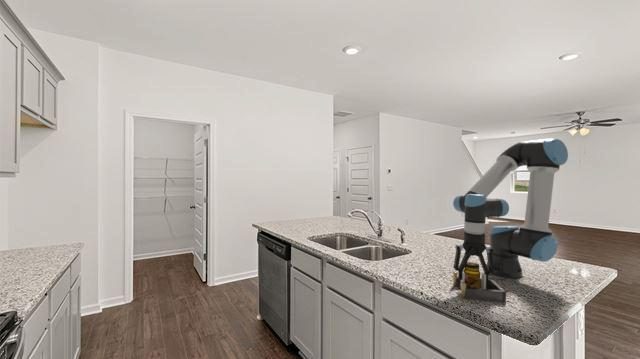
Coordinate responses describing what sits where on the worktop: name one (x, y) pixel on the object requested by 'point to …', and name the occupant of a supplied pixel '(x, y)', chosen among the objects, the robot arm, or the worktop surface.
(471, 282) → the condiment
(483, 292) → the grey open rectangular box
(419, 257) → the worktop surface
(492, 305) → the worktop surface
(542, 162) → the robot arm
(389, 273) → the worktop surface
